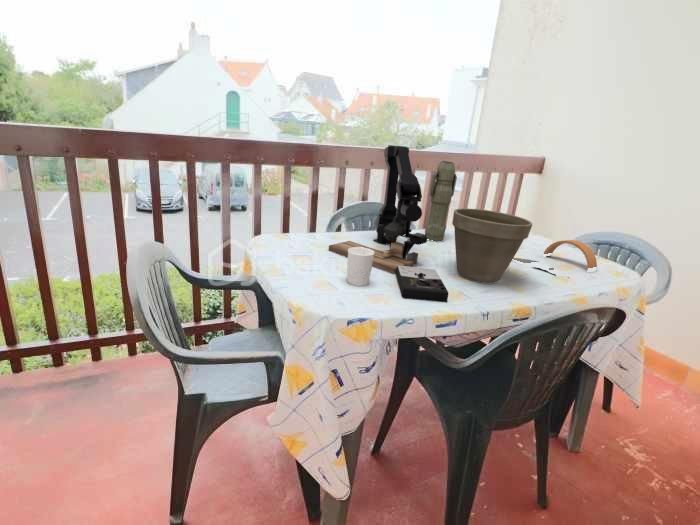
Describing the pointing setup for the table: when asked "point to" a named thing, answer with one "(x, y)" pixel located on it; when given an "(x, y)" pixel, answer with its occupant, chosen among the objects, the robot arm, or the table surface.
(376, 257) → the walnut board
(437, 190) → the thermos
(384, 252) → the marking gauge
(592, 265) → the arch
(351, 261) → the white cup
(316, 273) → the table surface
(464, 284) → the table surface
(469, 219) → the plant pot
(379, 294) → the table surface
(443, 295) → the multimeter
